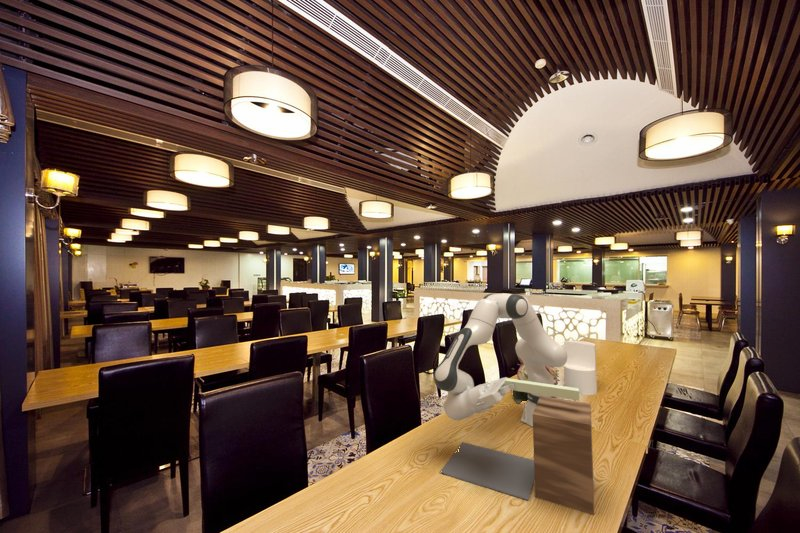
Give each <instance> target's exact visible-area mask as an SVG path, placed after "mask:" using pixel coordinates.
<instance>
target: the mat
mask: <svg viewBox="0 0 800 533" xmlns="http://www.w3.org/2000/svg"><path fill="white" fill-rule="evenodd" d="M459 446H460V448H459ZM459 446H458V447H457V448H458V449H459V452H458V450H457V449H456V450H457V452H456V453H454V452H453V453H452V455H451V456H450V458H449V459H448V460H449V461H448V460H447V461H446V463H445V464H444V465H443V466H442V468H441V469H440V471H439V473H440V472H441V471H442V472H441V473H444V474H446V475H445V476H447V475H449V476H448V477H450V476H451V477H452V478H453V477H455V478H454V479H457V480H460V481H463V482H465V483H466V482H467V483H470V484H474V485H476V486H479V487H482V488H485V489H489V490H492V491H495V492H497V493H501V494H505V495H508V496H511V497H515V498H517V499H521V500H524V501H527V502H529V501H530V496H531V493H532V489H533V485H534V484H535V477H534V459H532V458H531V459H530V458H527V457H523V456H520V455H516V454H512V453H507V452H504V451H500V450H496V449H492V448H487V447H483V446H480V445H477V444H476V445H475V444H472V443H467V442H465V441H462V442H461V443H460V444H459ZM441 473H440V474H441ZM444 474H443V475H444Z"/></svg>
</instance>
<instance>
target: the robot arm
mask: <svg viewBox="0 0 800 533" xmlns="http://www.w3.org/2000/svg"><path fill="white" fill-rule="evenodd" d="M498 319H510V320H512V324H513V325H514V327H515V330H516V331H517V334H518V336H519V338H520V339H518V340H517V341H516V343H515V347H514V349H515V354H516V356H517V355H518V356H519V357H520V358H521V360H522V361H523V363H524V365H525V368H526V371H527V374H528V381H531V382H538V383H545V384H552V385H554V379H553V376H552V375H551V374H550V373H549V372H548V371H547V369H546V367H545V366H549V367H555V368H562V367H564V365H565V363H566V362H567V358H568V355H567V351H566V349H565V348H564V346H562V345H561V344H559V343H558V342H557V341H556V340H554V339H553V338H552V336H551V335H550V334H549V333H548V332H547V331H546V330H545V328H544V327H543V325H542V323H541V320H540V318H539V317H538V314H537V313H536V310H535V308H534V307H533V305H532V304H531V302H530V300H528V298H527V297H526V296H523V295H520V294H517V293H506V292H505V293H504V292H502V293H489V294H486V295H485V296H484V297H483V298H481V299H479V300H478V301H477V302H476V305H475V306H474V307H473V310H472V311H471V314H470V316H469V318H468V321H467V323H466V324H465V326H464V327H463V328H461V329H460V330H459V331H458V332H457V334H456V335H455V337H454V339H453V341H452V343H451V345H450V346H449V348H448V350H447V351H446V353H445V356H444V357H443V359H442V361H441V362H440V363H439V364H438V366H437V367H436V369H435V370H434V374H433V380H434V381H433V382H434V384H435V386H436V387H437V389H439V390H441V391H445V392H447V396H446V398H445V401H444V402H443V411H444V413H445V414H446V416H448V418H450V419H451V420H453V421H460V420H464V419H468V418H470V417H473V416H474V415H475V414H480V413H483V412H486V411H488V410H490V409H493V407H494V405H498V404H499V403H501V401H502V400H503V398H504V397H505V395H506V394H508V393H510V392H511V390H513V389H515V385H514V383H511V384H509V385H507V386H505V380H506V379H507V378H508V377H507V376H505V377H501V378H498V379H495V380H493V381H486V382H484V383H482V384H481V383H480V384H478V385H476V386H475V382H474V378H473V377H472V376H471V375H470V374H469V373H467V372H465V371H463V370H461V369H459V365H460V362H461V361H462V358H463V357H464V354H465V353H466V351H467V349H468V348H469V347H471V346H473V345H474V346H475V345H476V346H477V345H479V346H480V345H483V344H486V343H487V342H489V341H490V339H491V338H492V336H493V334H494V331H495V328H496V324H497V321H498ZM518 356H517V357H518ZM540 396H545V397H552V396H546V395H540V394H533V393H528V401H527V403H526V404H525V403H524V404H522V405H523V407H522V408H523V411H522V414H521V418H520V422H521V423H525V424H527V425H529V426H530V427H531V428H533V412H534V409H535V407H536V405H537V402H538V400H539V397H540ZM552 398H557V397H552Z"/></svg>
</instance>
